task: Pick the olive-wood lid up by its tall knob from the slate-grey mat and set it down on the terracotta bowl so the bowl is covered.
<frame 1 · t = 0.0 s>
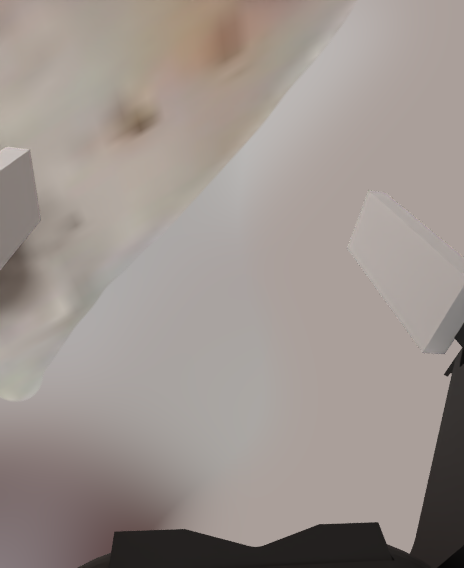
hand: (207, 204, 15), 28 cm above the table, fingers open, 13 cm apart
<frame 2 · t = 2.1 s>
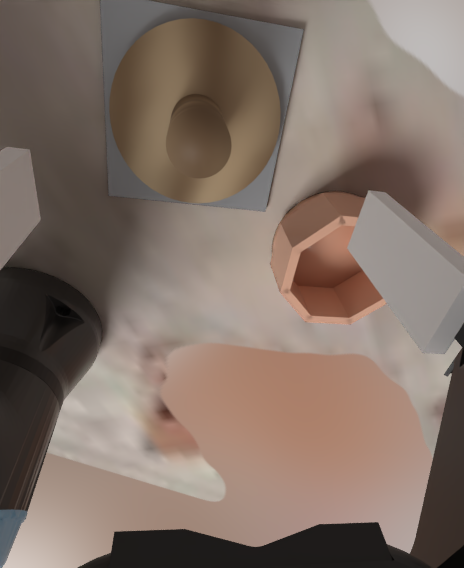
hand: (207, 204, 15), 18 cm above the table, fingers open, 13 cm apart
bowl: (325, 243, 37), on the table
lid: (196, 120, 29), point 1 cm above the table, touching mat
mat: (196, 119, 29), on the table
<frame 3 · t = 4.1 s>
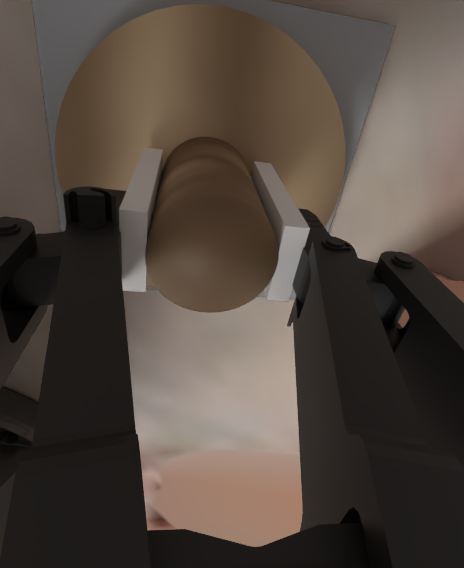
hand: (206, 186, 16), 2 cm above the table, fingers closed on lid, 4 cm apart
bowl: (387, 335, 26), on the table
lid: (205, 175, 17), point 1 cm above the table, touching gripper, mat
mat: (205, 171, 18), on the table
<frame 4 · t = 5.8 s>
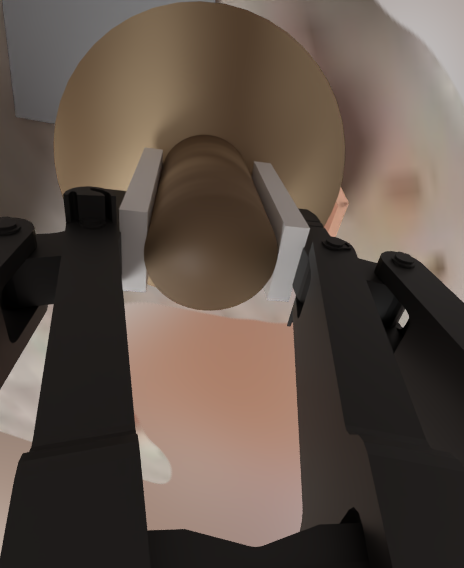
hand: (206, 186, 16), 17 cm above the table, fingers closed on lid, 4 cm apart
bowl: (263, 192, 34), on the table
lid: (204, 173, 17), point 15 cm above the table, touching gripper
mat: (112, 31, 26), on the table
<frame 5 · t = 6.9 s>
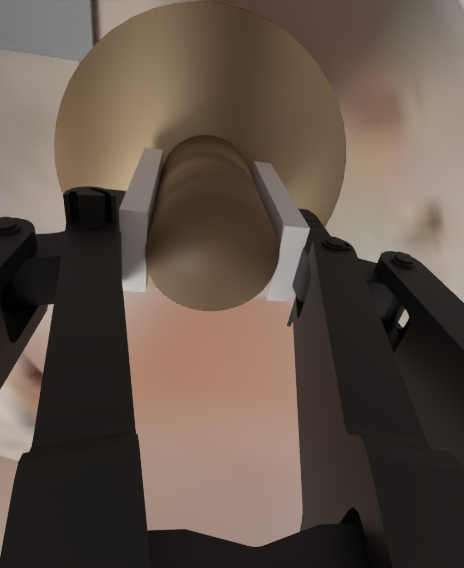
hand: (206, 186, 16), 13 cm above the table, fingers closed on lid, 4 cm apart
lid: (205, 174, 17), point 11 cm above the table, touching gripper
when the fingers open (9 cm above the table, at t = 7.6 s): lid drops 2 cm, resting on bowl.
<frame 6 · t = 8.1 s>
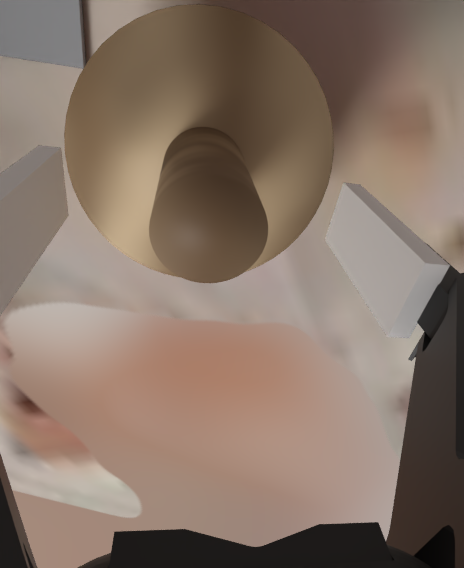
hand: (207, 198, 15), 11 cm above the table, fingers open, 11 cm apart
lid: (203, 163, 19), point 6 cm above the table, touching bowl
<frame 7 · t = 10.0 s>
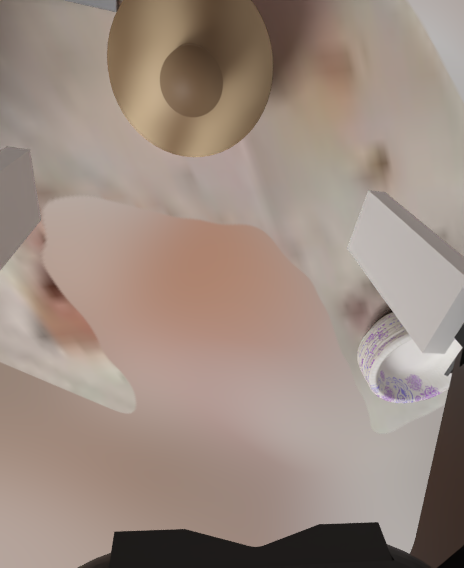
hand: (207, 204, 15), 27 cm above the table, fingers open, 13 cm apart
paper bowls: (396, 331, 57), on the table
lid: (192, 72, 30), point 6 cm above the table, touching bowl
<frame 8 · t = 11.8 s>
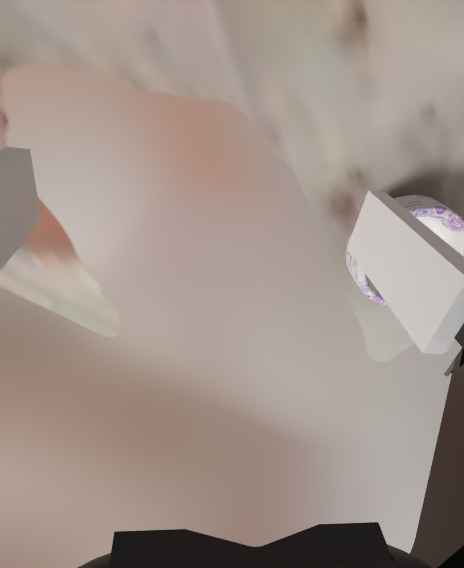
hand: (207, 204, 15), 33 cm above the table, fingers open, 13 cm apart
paper bowls: (387, 234, 55), on the table
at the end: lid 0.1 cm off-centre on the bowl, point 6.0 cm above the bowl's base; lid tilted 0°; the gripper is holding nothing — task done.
